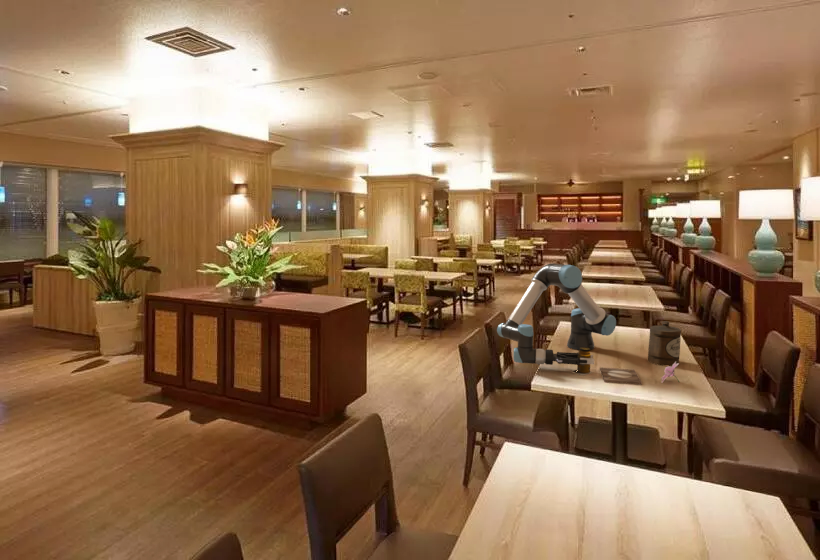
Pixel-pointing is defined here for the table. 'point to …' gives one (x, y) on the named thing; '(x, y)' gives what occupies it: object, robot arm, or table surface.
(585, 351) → the condiment
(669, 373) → the lily
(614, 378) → the board
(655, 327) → the wooden container
